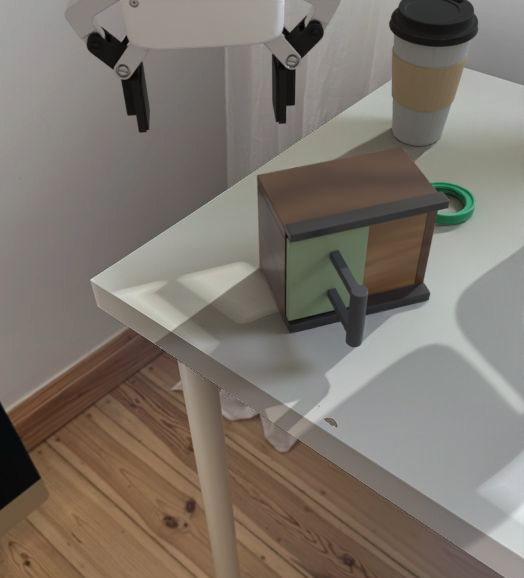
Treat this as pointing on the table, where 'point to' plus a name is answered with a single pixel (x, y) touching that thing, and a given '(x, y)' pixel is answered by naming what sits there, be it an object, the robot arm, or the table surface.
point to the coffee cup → (428, 64)
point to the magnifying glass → (462, 195)
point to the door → (329, 279)
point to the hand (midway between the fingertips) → (212, 117)
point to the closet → (352, 224)
